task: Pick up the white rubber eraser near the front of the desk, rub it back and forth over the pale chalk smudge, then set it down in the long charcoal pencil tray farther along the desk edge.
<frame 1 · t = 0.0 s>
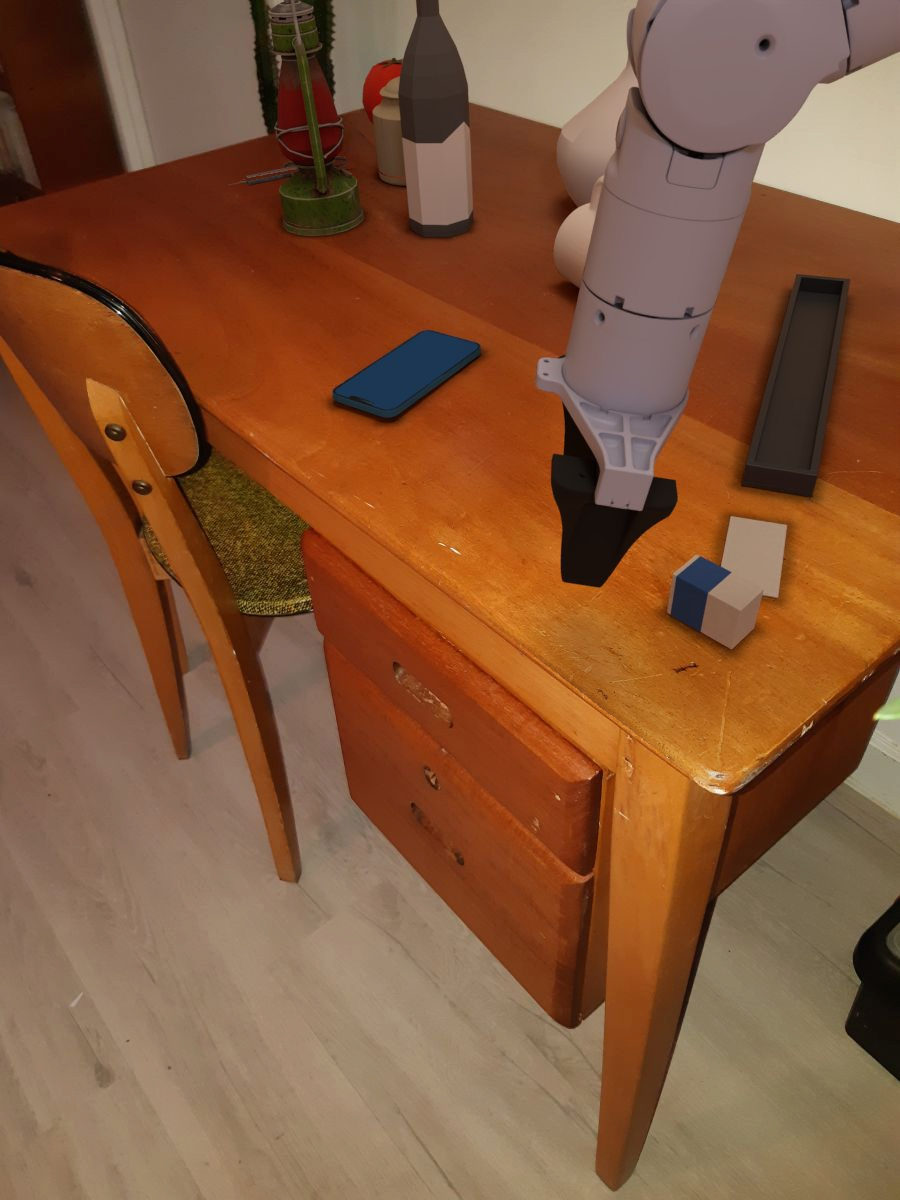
hand: (581, 532, 47), 12 cm above the table, tool pointing down, fingers open, 7 cm apart
mug: (610, 299, 93), on the table
wine bottle: (442, 227, 111), on the table
tomato: (400, 130, 141), on the table
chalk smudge: (753, 555, 62), on the table
tray: (800, 378, 79), on the table
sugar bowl: (411, 171, 127), on the table
syringe: (289, 180, 127), on the table
lantern: (323, 221, 114), on the table
eraser: (709, 620, 58), on the table
smartphone: (409, 377, 83), on the table
vase: (628, 215, 110), on the table
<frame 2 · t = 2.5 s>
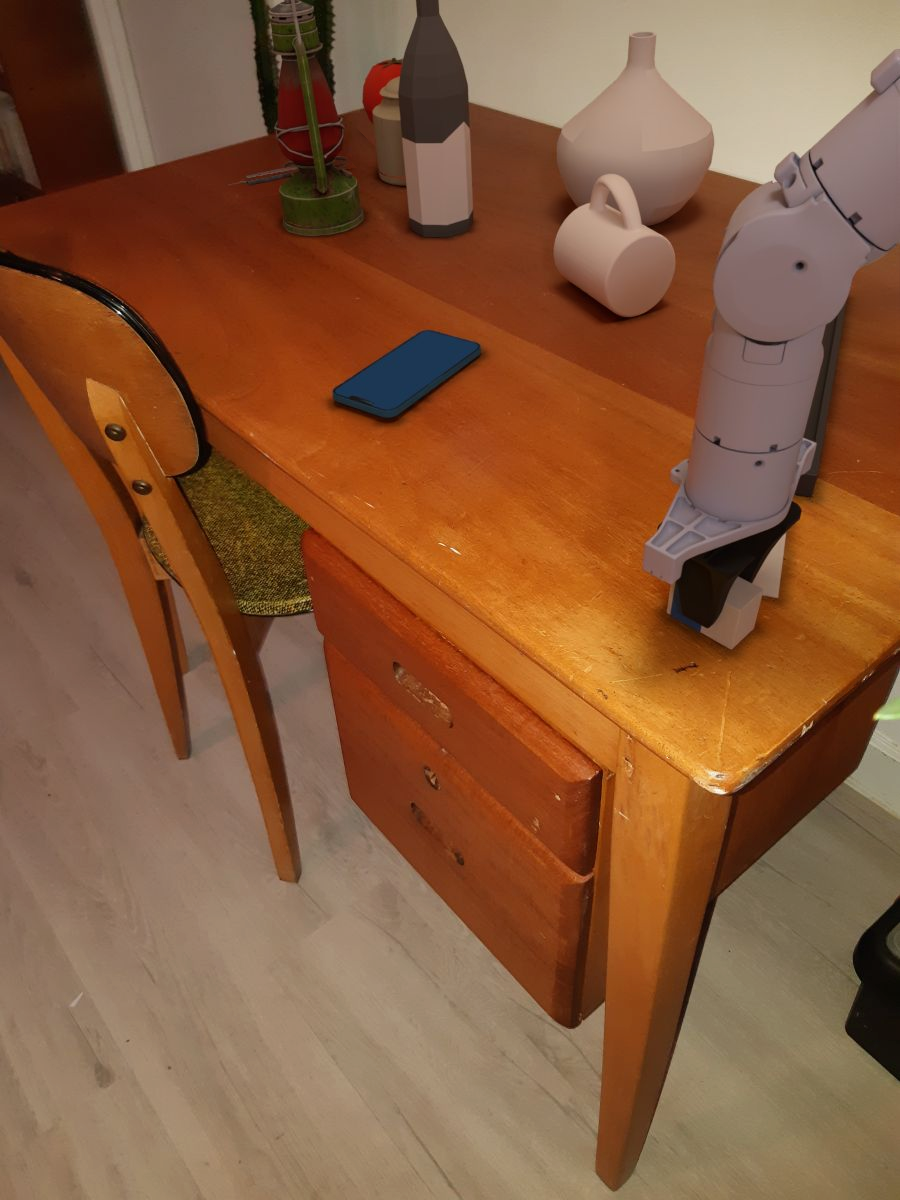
hand: (712, 605, 57), 1 cm above the table, tool pointing down, fingers closed on eraser, 3 cm apart
eraser: (709, 620, 58), on the table, touching gripper
everything else where it was.
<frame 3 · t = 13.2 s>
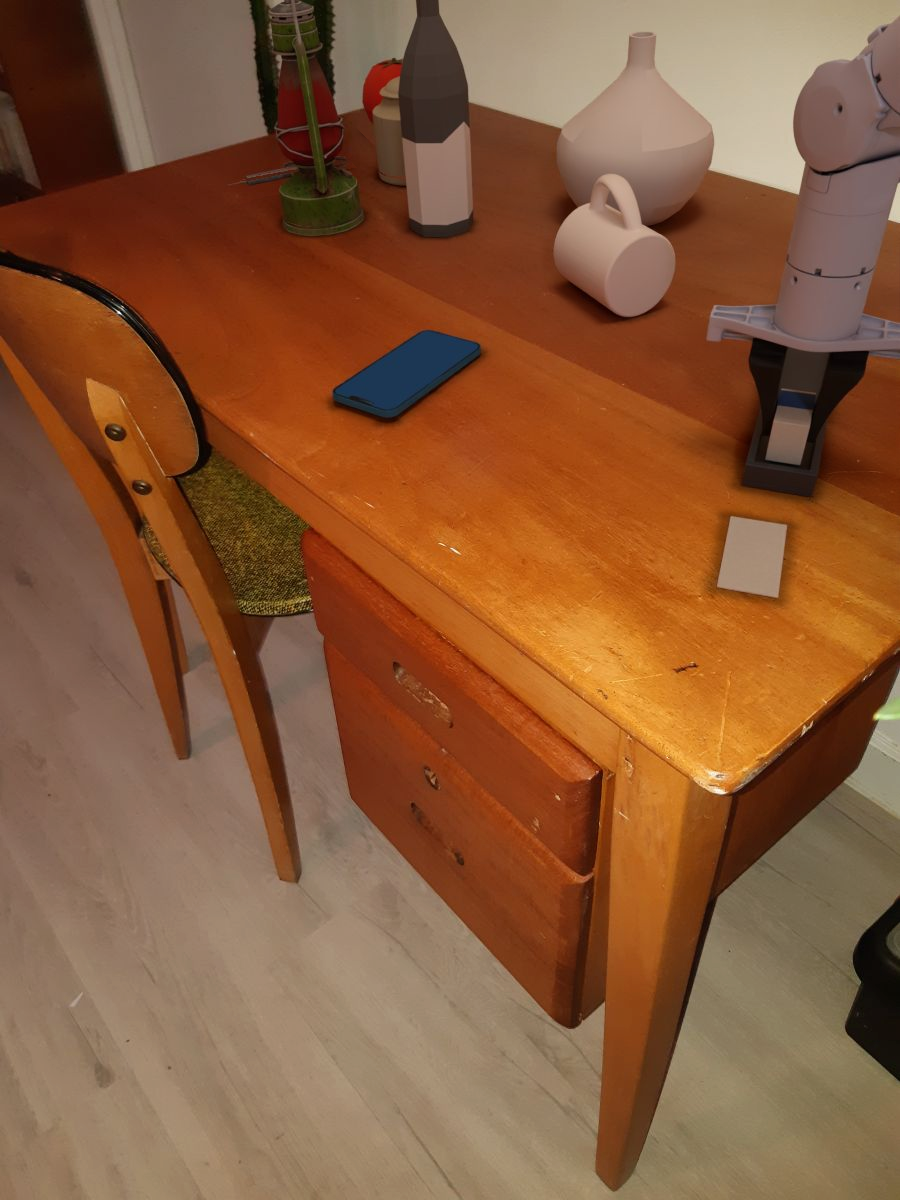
hand: (789, 432, 69), 2 cm above the table, tool pointing down, fingers closed on eraser, 3 cm apart
eraser: (786, 445, 70), point 1 cm above the table, touching gripper
everything else where it was.
when the fingers open (3 cm above the table, at t = 16.7 s): eraser drops 2 cm, resting on tray.
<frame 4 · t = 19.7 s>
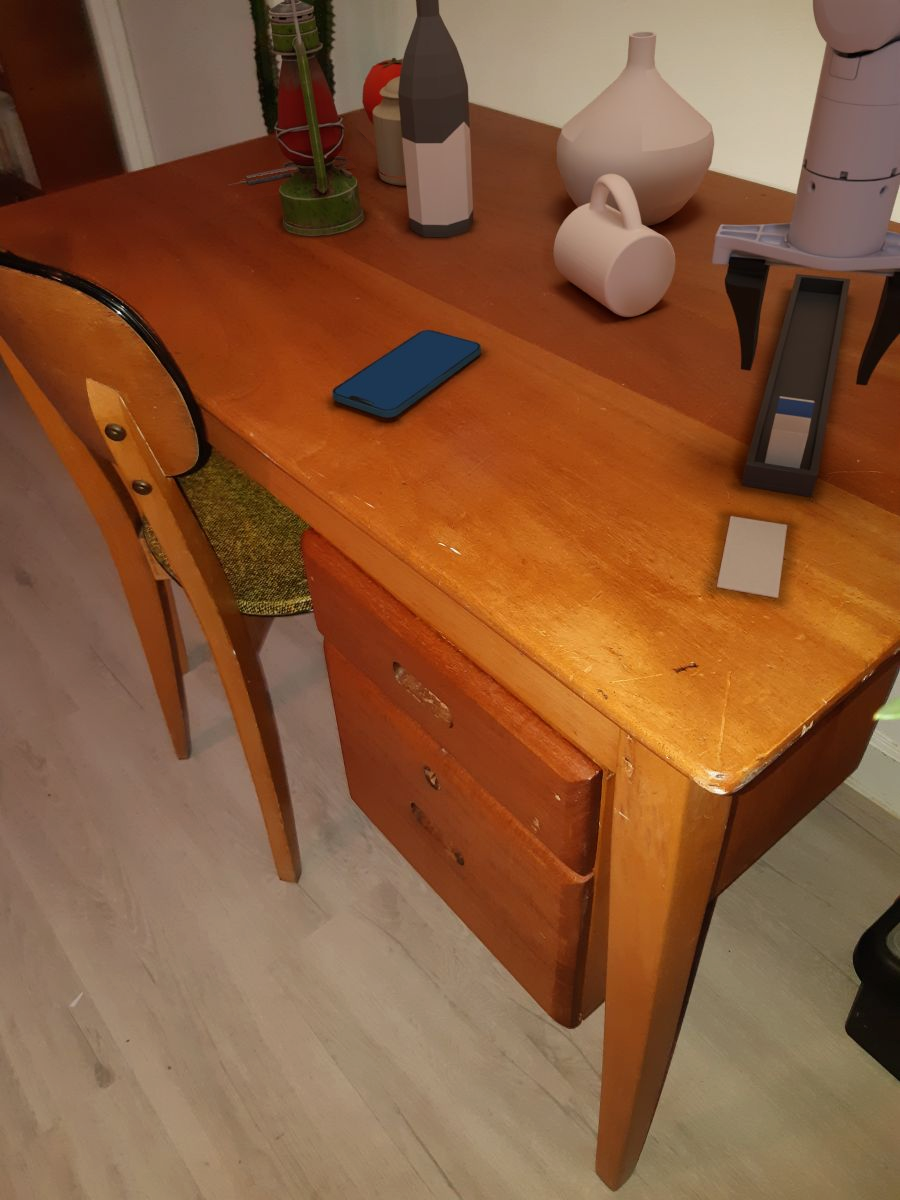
hand: (803, 370, 62), 9 cm above the table, tool pointing down, fingers open, 7 cm apart
eraser: (784, 452, 70), point 1 cm above the table, touching tray
everything else where it was.
at the end: eraser inside the target area in the tray (13.0 cm from its centre), point 0.5 cm above the tray's base; the gripper is holding nothing; eraser moved 20.3 cm from its start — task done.
